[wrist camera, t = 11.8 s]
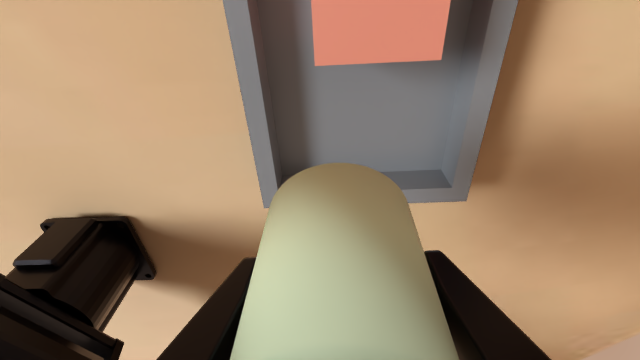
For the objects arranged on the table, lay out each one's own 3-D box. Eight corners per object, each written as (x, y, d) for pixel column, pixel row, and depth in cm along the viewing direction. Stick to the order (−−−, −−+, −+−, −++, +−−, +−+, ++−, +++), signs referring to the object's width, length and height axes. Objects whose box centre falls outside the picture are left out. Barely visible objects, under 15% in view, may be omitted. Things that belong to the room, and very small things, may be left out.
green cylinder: (404, 267, 11) (450, 452, 7) (280, 271, 11) (249, 450, 7) (415, 158, 8) (500, 343, 4) (255, 167, 9) (186, 348, 5)
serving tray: (451, 176, 20) (466, 201, 18) (270, 183, 21) (263, 207, 19) (520, -146, 12) (562, -172, 10) (217, -121, 13) (194, -140, 10)
